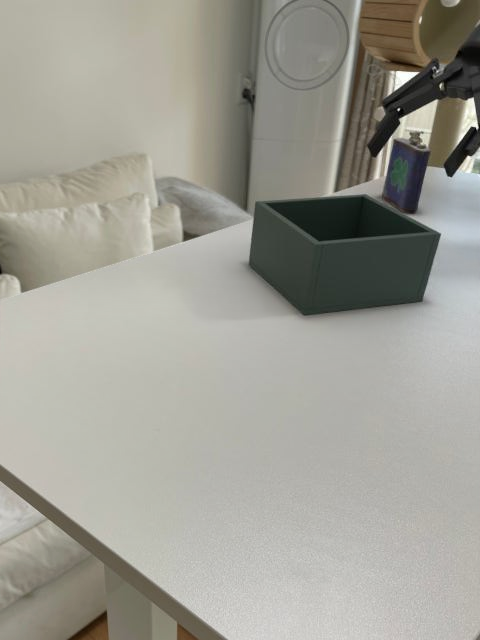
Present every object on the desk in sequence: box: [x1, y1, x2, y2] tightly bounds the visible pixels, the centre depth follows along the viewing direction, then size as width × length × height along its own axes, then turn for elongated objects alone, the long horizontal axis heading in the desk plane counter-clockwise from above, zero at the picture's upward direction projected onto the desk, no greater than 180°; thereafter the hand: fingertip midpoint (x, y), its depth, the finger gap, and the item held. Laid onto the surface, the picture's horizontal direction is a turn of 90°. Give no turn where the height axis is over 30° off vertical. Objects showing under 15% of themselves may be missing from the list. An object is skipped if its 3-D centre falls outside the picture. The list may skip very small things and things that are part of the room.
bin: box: [248, 193, 442, 316], centre depth 73 cm, size 15×15×8 cm
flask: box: [381, 130, 432, 215], centre depth 98 cm, size 9×3×11 cm, turn 9°
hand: (407, 161), depth 98 cm, fingers open, 13 cm apart
